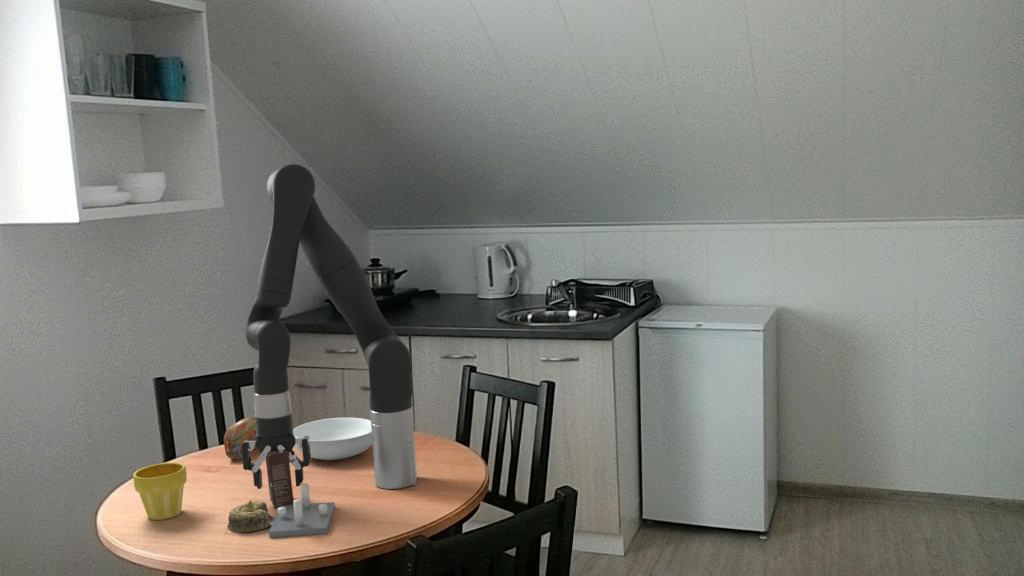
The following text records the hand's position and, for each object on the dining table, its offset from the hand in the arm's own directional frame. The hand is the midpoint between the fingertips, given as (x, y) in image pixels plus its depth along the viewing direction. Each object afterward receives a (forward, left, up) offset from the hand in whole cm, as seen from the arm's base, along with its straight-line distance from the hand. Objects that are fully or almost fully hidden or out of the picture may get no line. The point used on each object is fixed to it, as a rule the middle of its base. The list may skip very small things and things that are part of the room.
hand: (279, 486), depth 199 cm
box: (0, 0, -4) cm, 4 cm away
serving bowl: (-8, -32, -4) cm, 33 cm away
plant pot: (+24, +2, -4) cm, 24 cm away
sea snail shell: (+4, +11, -4) cm, 12 cm away
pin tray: (-7, +12, -4) cm, 14 cm away
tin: (+16, -38, -4) cm, 41 cm away
